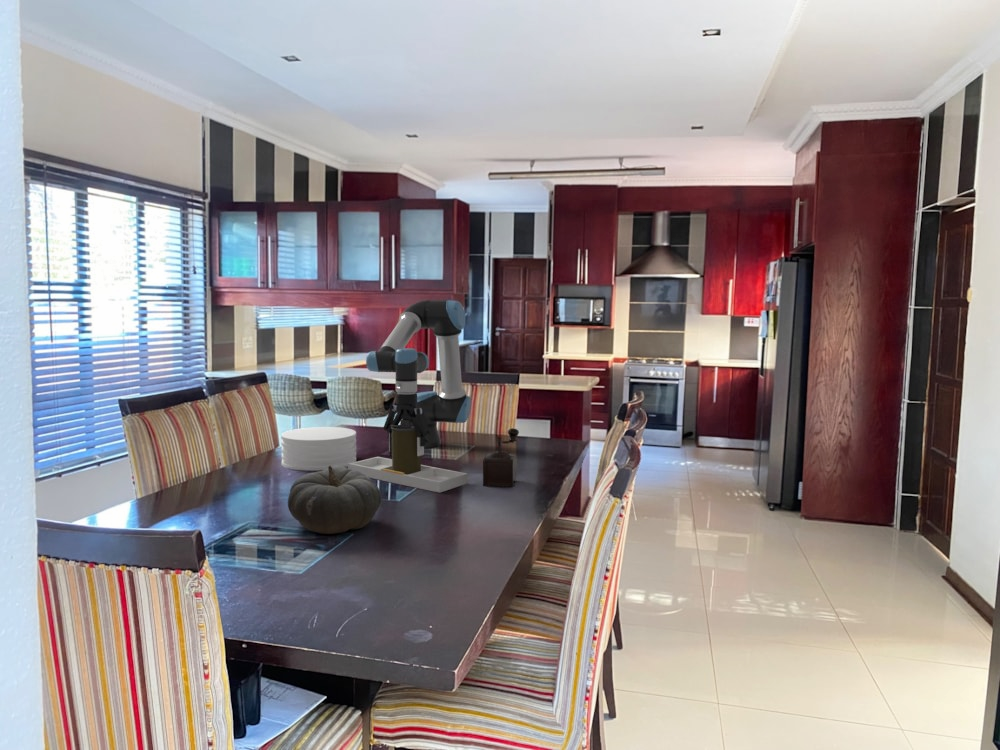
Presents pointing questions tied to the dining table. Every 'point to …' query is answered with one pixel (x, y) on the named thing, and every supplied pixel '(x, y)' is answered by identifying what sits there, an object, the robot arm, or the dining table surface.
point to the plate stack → (318, 448)
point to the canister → (404, 448)
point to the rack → (410, 475)
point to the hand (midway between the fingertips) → (406, 452)
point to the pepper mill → (500, 465)
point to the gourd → (334, 500)
